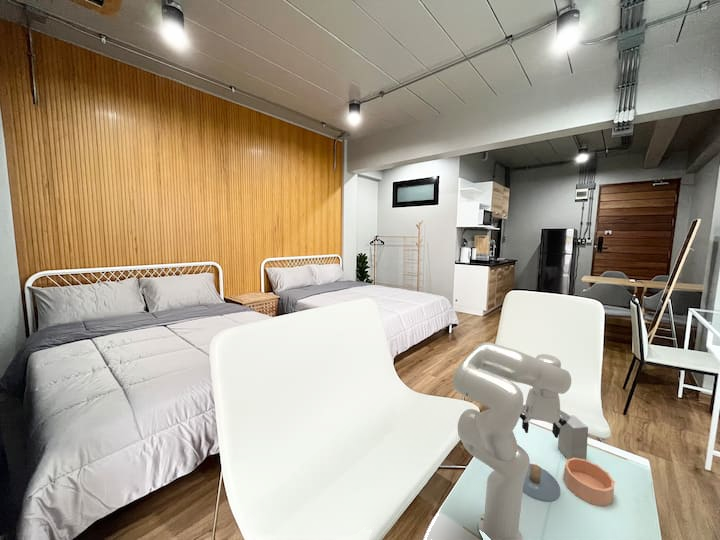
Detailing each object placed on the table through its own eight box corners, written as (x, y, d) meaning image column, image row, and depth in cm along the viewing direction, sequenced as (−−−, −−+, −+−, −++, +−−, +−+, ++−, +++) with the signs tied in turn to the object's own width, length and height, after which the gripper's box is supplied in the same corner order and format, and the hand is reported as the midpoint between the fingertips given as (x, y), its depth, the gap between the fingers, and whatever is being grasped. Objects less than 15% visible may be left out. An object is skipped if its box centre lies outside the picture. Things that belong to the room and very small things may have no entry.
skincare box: (586, 463, 117) (591, 428, 115) (569, 463, 117) (573, 428, 115) (571, 447, 126) (575, 414, 123) (554, 447, 125) (559, 414, 123)
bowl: (621, 510, 98) (624, 494, 97) (574, 500, 101) (576, 485, 100) (598, 476, 111) (600, 462, 110) (557, 468, 115) (559, 455, 114)
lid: (568, 507, 99) (570, 491, 98) (516, 496, 103) (518, 481, 102) (549, 469, 114) (551, 455, 113) (505, 461, 118) (507, 448, 117)
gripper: (567, 387, 105) (562, 430, 107) (515, 381, 109) (511, 422, 111) (577, 399, 97) (571, 444, 100) (521, 391, 101) (516, 435, 104)
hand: (540, 432), depth 106 cm, fingers open, 9 cm apart
